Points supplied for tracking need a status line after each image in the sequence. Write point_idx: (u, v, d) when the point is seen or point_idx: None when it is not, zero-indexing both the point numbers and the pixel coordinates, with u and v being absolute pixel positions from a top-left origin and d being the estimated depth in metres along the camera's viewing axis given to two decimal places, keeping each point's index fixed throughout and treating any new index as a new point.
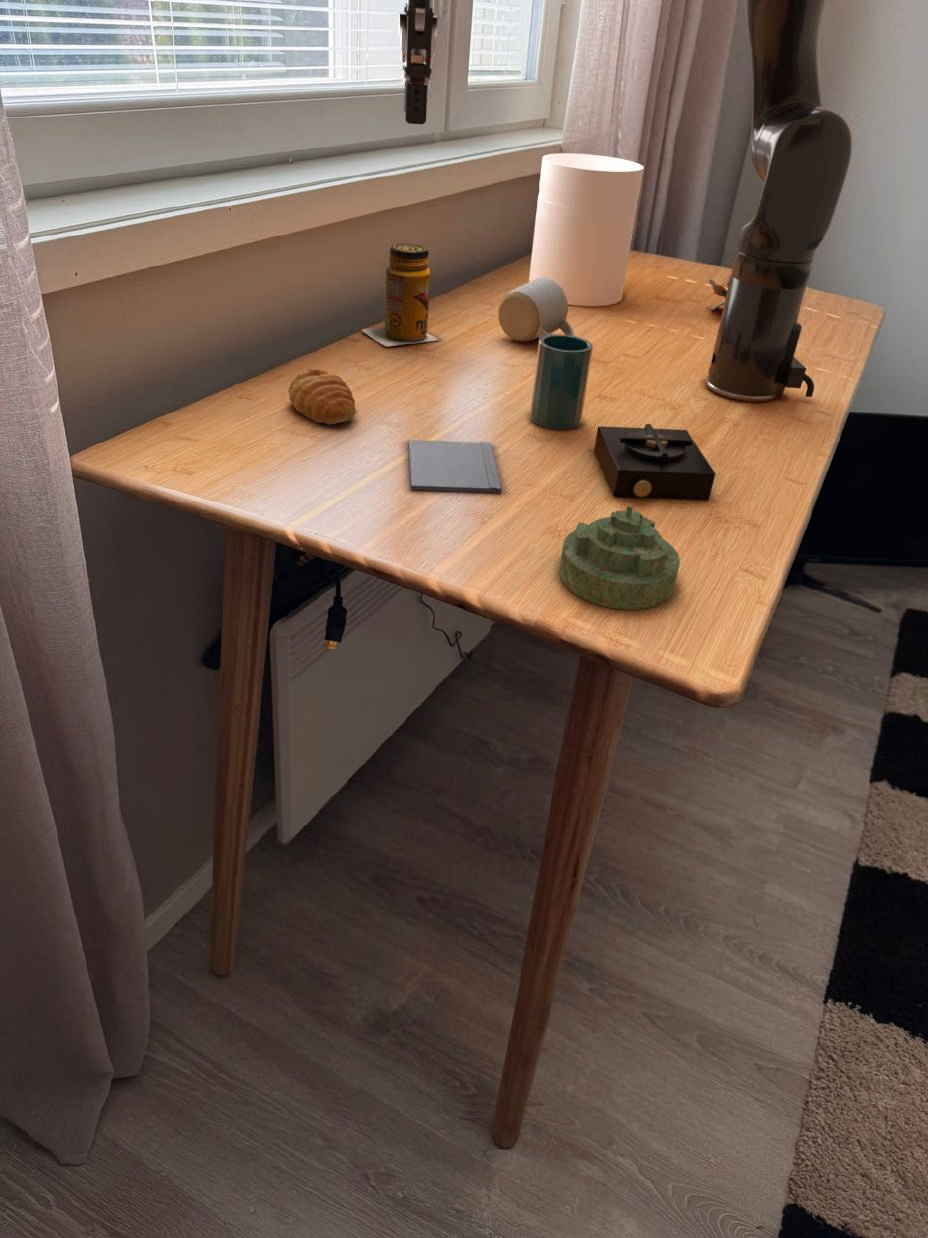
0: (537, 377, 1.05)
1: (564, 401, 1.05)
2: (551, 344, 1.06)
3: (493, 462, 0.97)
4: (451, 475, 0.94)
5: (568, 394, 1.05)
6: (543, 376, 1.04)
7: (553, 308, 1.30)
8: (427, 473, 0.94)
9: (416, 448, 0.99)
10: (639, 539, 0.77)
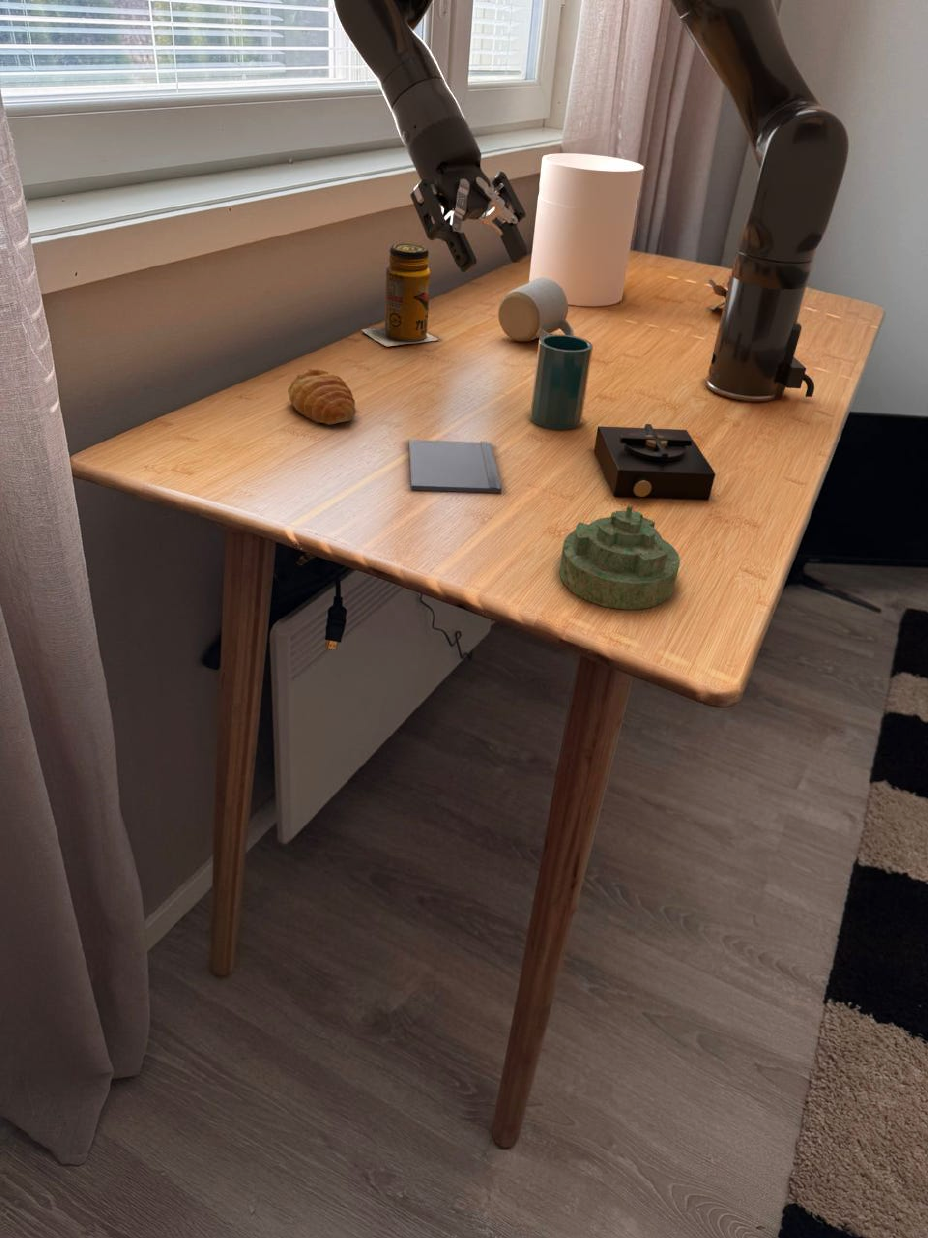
0: (537, 377, 1.05)
1: (564, 401, 1.05)
2: (551, 344, 1.06)
3: (493, 462, 0.97)
4: (451, 475, 0.94)
5: (568, 394, 1.05)
6: (543, 376, 1.04)
7: (553, 308, 1.30)
8: (427, 473, 0.94)
9: (416, 448, 0.99)
10: (639, 539, 0.77)
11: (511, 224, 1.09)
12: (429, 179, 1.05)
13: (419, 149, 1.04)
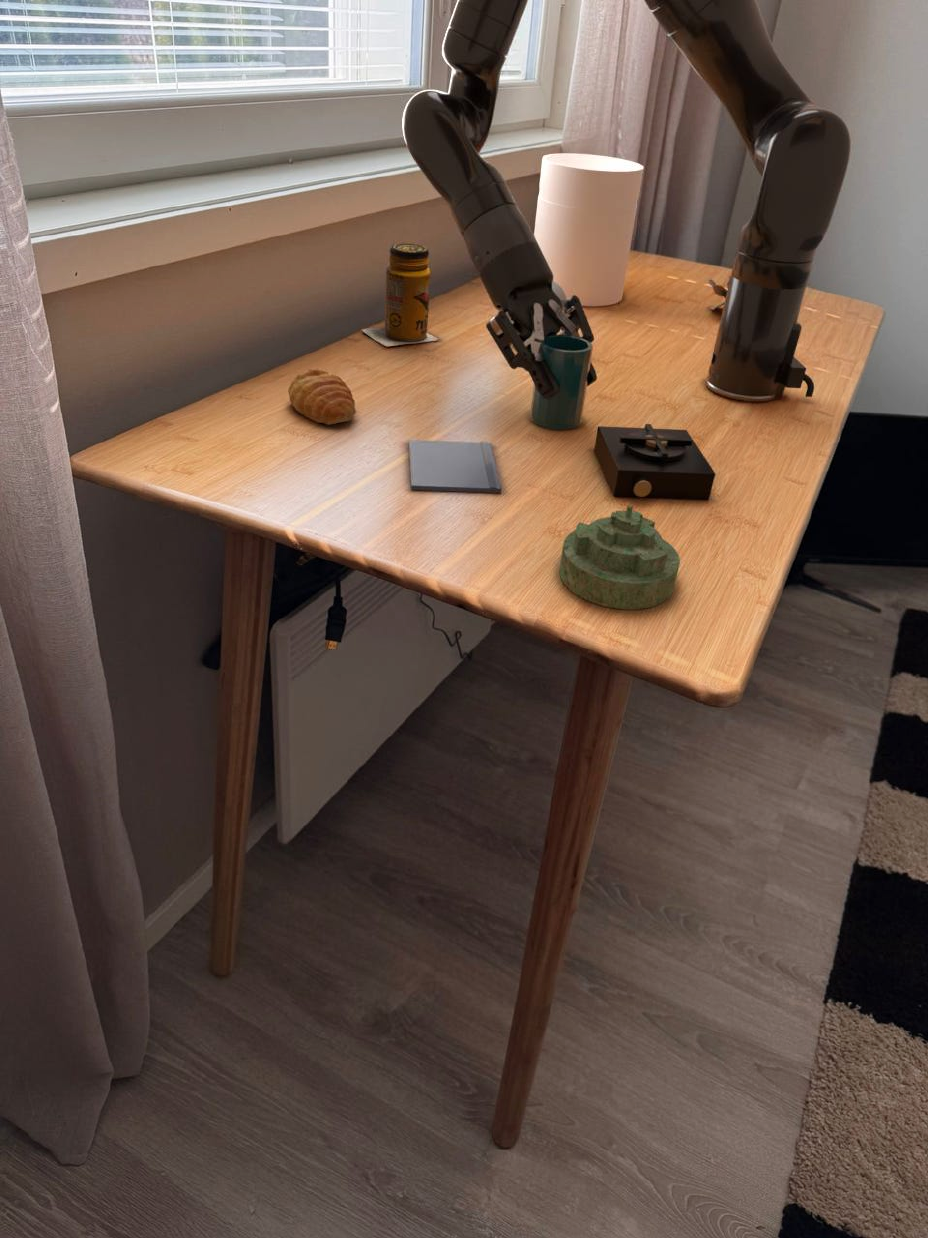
0: None
1: (564, 401, 1.05)
2: (551, 344, 1.06)
3: (493, 462, 0.97)
4: (451, 475, 0.94)
5: (568, 394, 1.05)
6: None
7: None
8: (427, 473, 0.94)
9: (416, 448, 0.99)
10: (639, 539, 0.77)
11: None
12: (502, 304, 1.04)
13: (492, 274, 1.04)
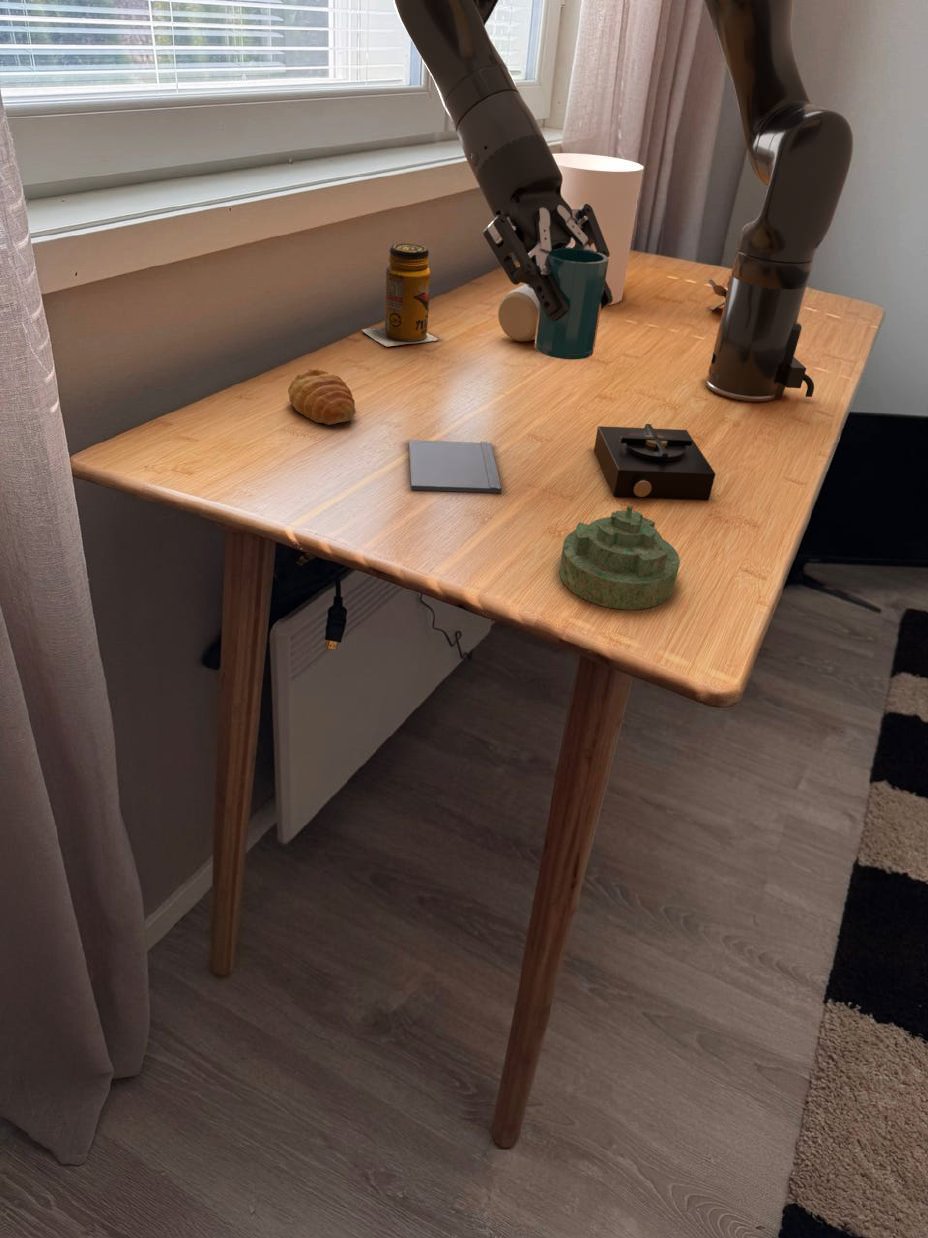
0: None
1: (574, 324, 0.90)
2: (559, 258, 0.91)
3: (493, 462, 0.97)
4: (451, 475, 0.94)
5: (579, 315, 0.89)
6: None
7: None
8: (427, 473, 0.94)
9: (416, 448, 0.99)
10: (639, 539, 0.77)
11: None
12: (502, 209, 0.89)
13: (490, 174, 0.88)
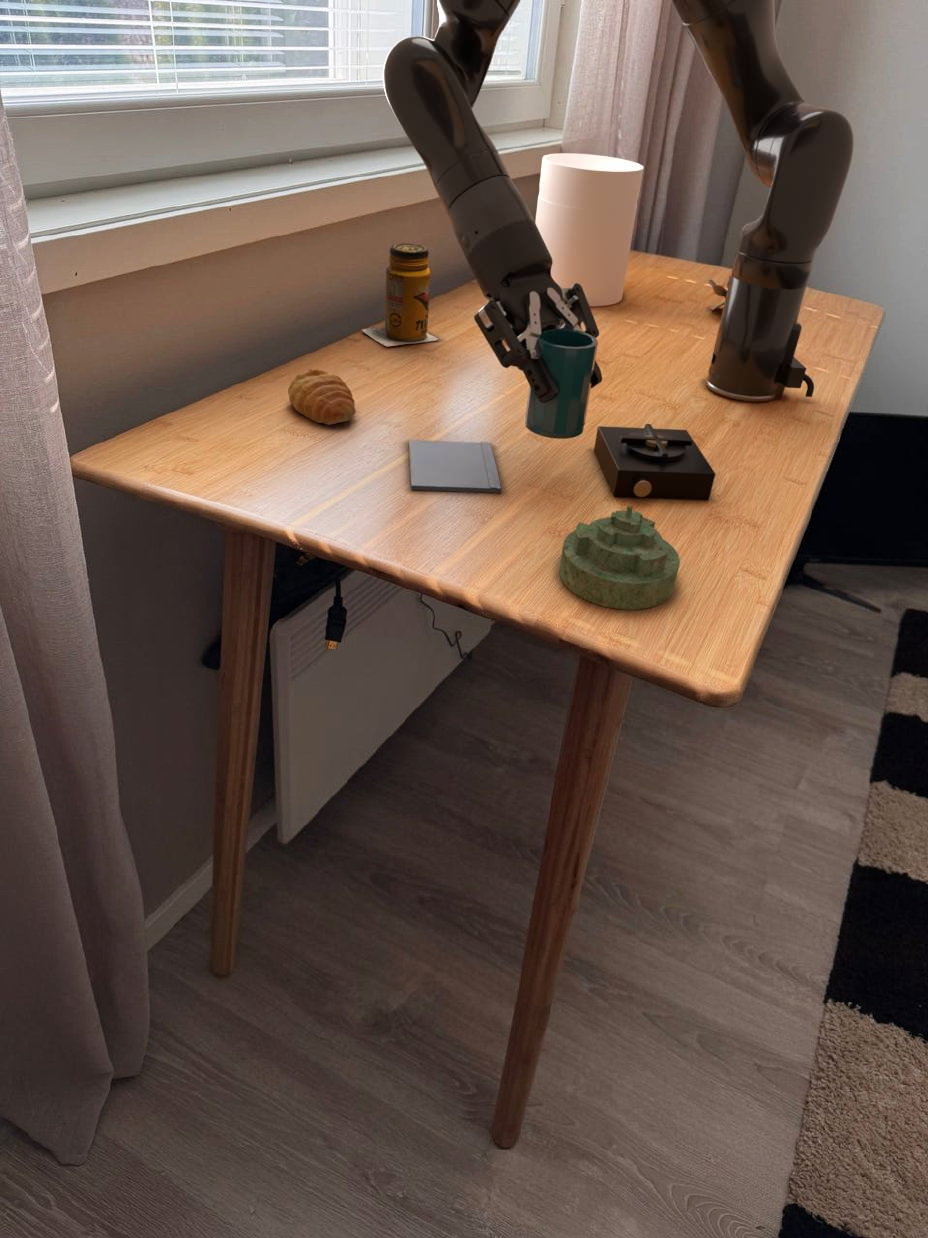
0: None
1: (564, 405, 0.91)
2: (549, 339, 0.92)
3: (493, 462, 0.97)
4: (451, 475, 0.94)
5: (569, 397, 0.90)
6: None
7: None
8: (427, 473, 0.94)
9: (416, 448, 0.99)
10: (639, 539, 0.77)
11: None
12: (493, 292, 0.90)
13: (481, 258, 0.89)
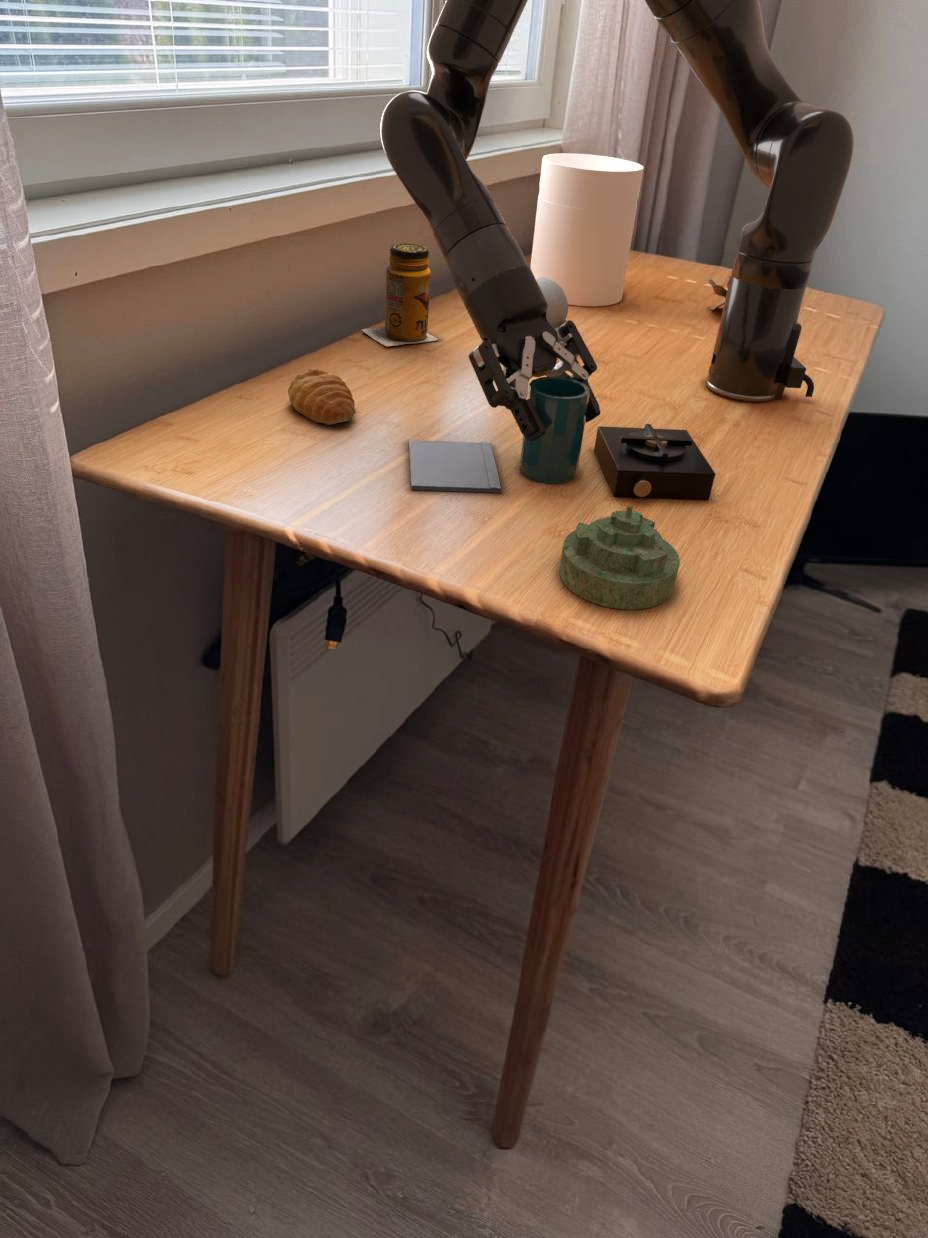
0: None
1: (557, 452, 0.93)
2: (543, 387, 0.95)
3: (493, 462, 0.97)
4: (451, 475, 0.94)
5: (562, 445, 0.93)
6: None
7: (553, 308, 1.30)
8: (427, 473, 0.94)
9: (416, 448, 0.99)
10: (639, 539, 0.77)
11: (581, 380, 0.96)
12: (490, 337, 0.92)
13: (478, 304, 0.92)
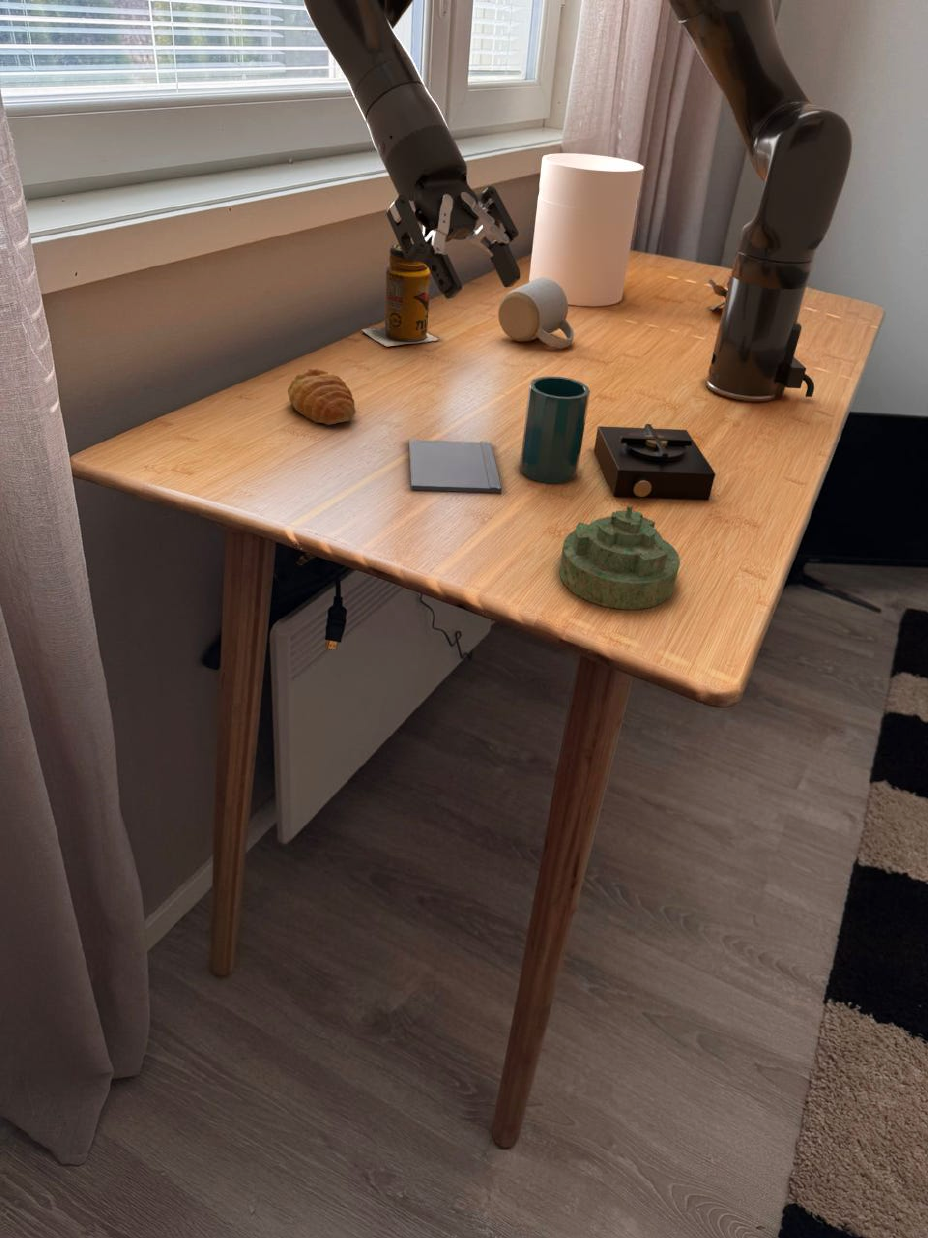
0: (527, 425, 0.94)
1: (557, 452, 0.93)
2: (543, 387, 0.95)
3: (493, 462, 0.97)
4: (451, 475, 0.94)
5: (562, 445, 0.93)
6: (534, 424, 0.93)
7: (553, 308, 1.30)
8: (427, 473, 0.94)
9: (416, 448, 0.99)
10: (639, 539, 0.77)
11: (502, 244, 0.97)
12: (408, 195, 0.93)
13: (396, 162, 0.93)
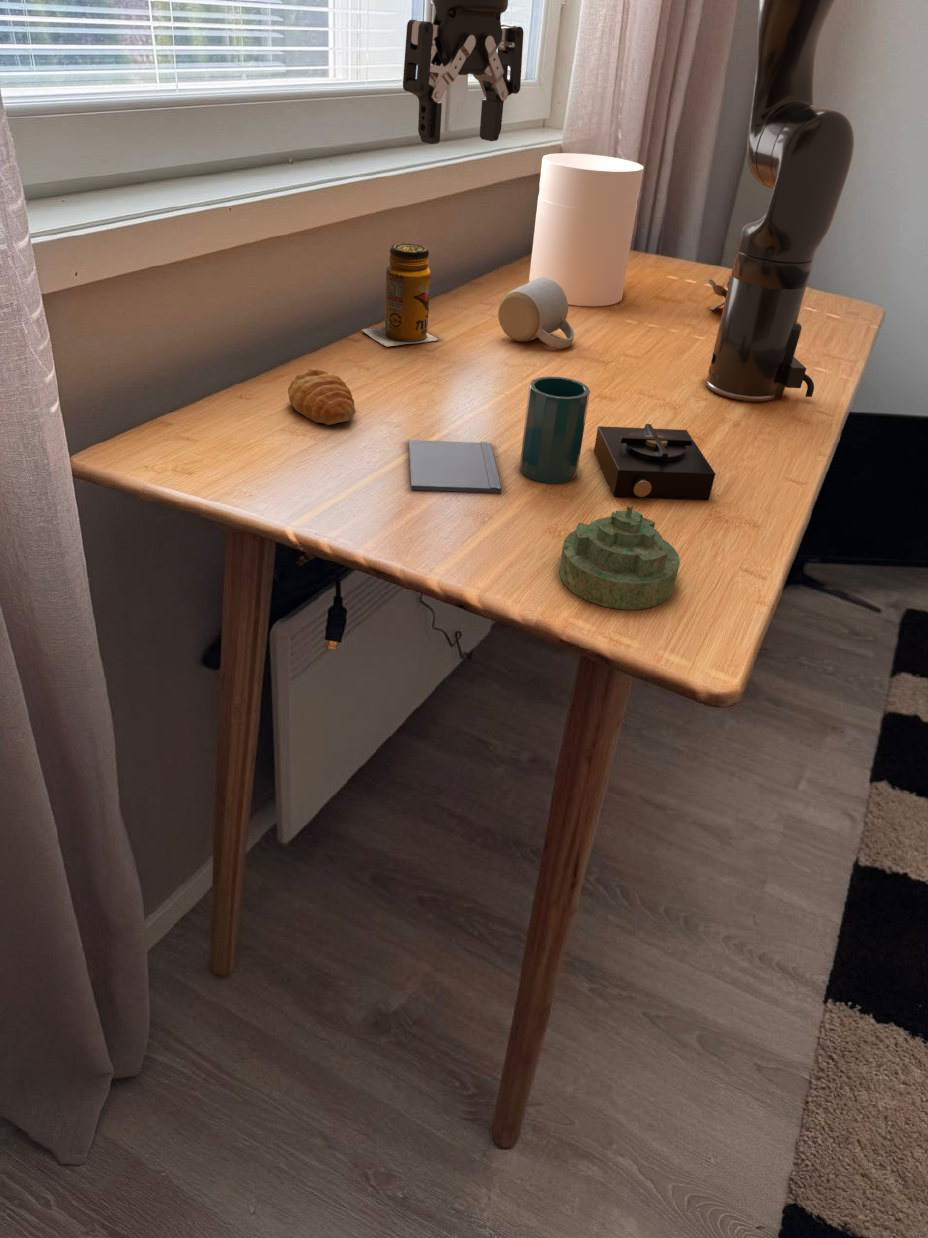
0: (527, 425, 0.94)
1: (557, 452, 0.93)
2: (543, 387, 0.95)
3: (493, 462, 0.97)
4: (451, 475, 0.94)
5: (562, 445, 0.93)
6: (534, 424, 0.93)
7: (553, 308, 1.30)
8: (427, 473, 0.94)
9: (416, 448, 0.99)
10: (639, 539, 0.77)
11: (498, 98, 0.96)
12: (437, 11, 0.88)
13: None
